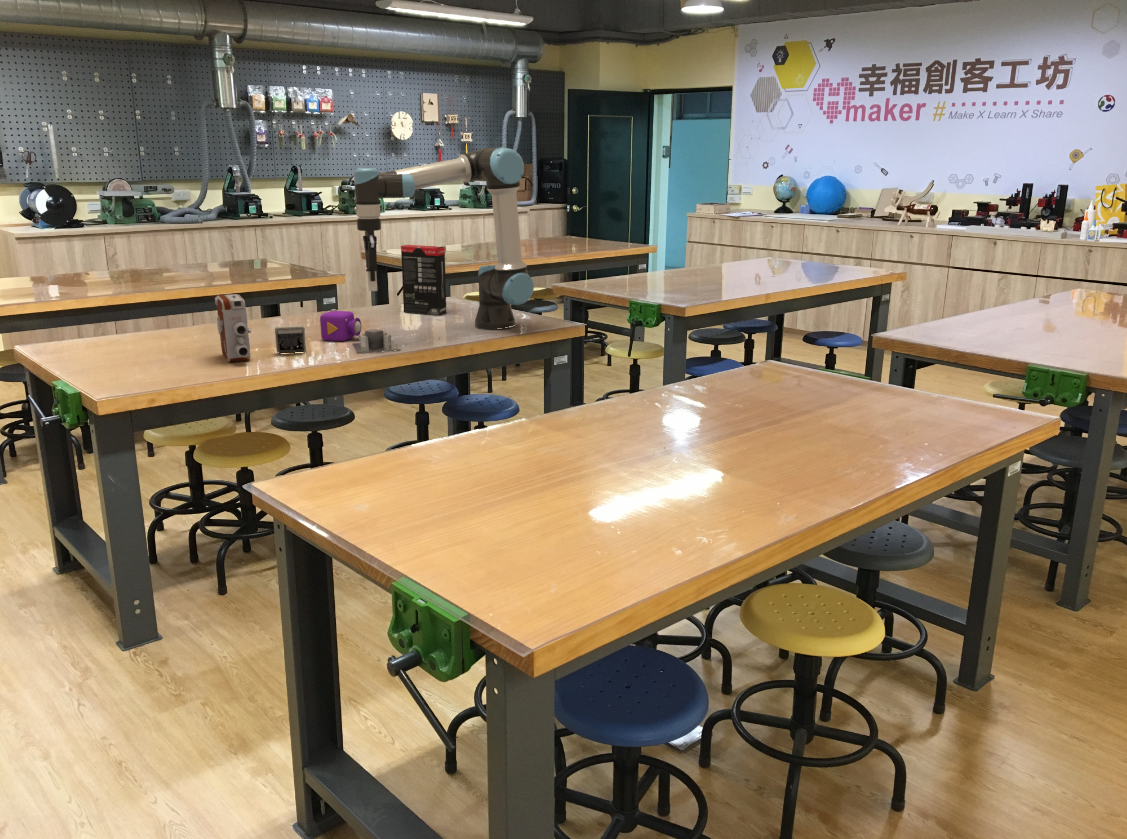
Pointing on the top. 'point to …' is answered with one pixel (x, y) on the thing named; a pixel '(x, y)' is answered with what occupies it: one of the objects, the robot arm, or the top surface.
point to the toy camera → (339, 325)
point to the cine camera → (233, 327)
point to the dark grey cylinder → (375, 338)
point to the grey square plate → (364, 348)
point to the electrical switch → (290, 339)
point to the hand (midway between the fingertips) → (372, 290)
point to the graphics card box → (424, 279)
